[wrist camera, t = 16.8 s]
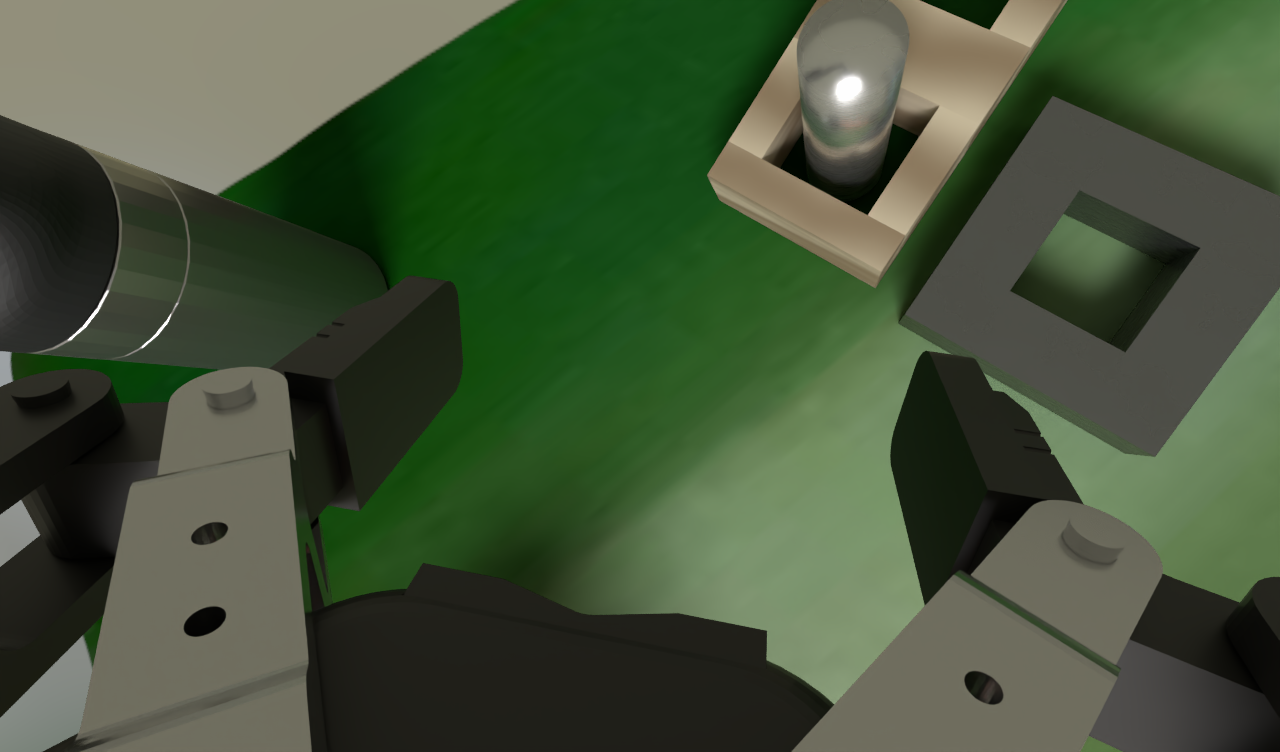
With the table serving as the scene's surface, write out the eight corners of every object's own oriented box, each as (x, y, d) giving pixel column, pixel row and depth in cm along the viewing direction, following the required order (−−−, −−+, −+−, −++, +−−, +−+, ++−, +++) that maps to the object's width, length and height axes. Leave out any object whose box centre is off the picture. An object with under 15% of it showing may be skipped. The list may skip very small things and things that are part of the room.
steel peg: (792, 180, 37) (775, 70, 25) (833, 117, 36) (835, -24, 25) (856, 214, 36) (868, 116, 24) (898, 150, 35) (932, 18, 24)
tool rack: (875, 288, 35) (881, 271, 31) (719, 200, 38) (707, 175, 34) (1100, -50, 33) (1136, -112, 29) (920, -118, 36) (931, -183, 32)
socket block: (898, 323, 35) (904, 314, 32) (1033, 123, 33) (1052, 95, 31) (1125, 453, 31) (1155, 456, 29) (1282, 237, 30) (1330, 218, 27)
